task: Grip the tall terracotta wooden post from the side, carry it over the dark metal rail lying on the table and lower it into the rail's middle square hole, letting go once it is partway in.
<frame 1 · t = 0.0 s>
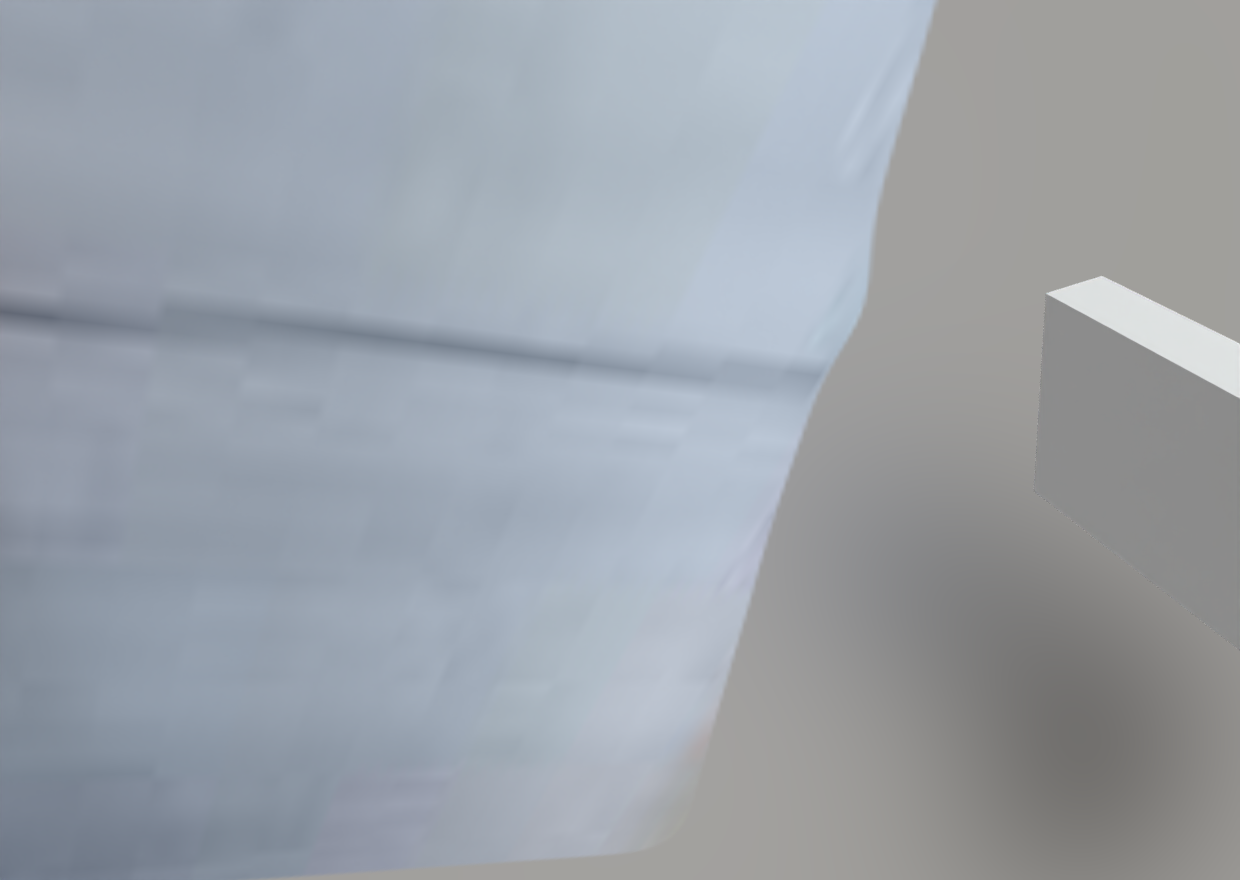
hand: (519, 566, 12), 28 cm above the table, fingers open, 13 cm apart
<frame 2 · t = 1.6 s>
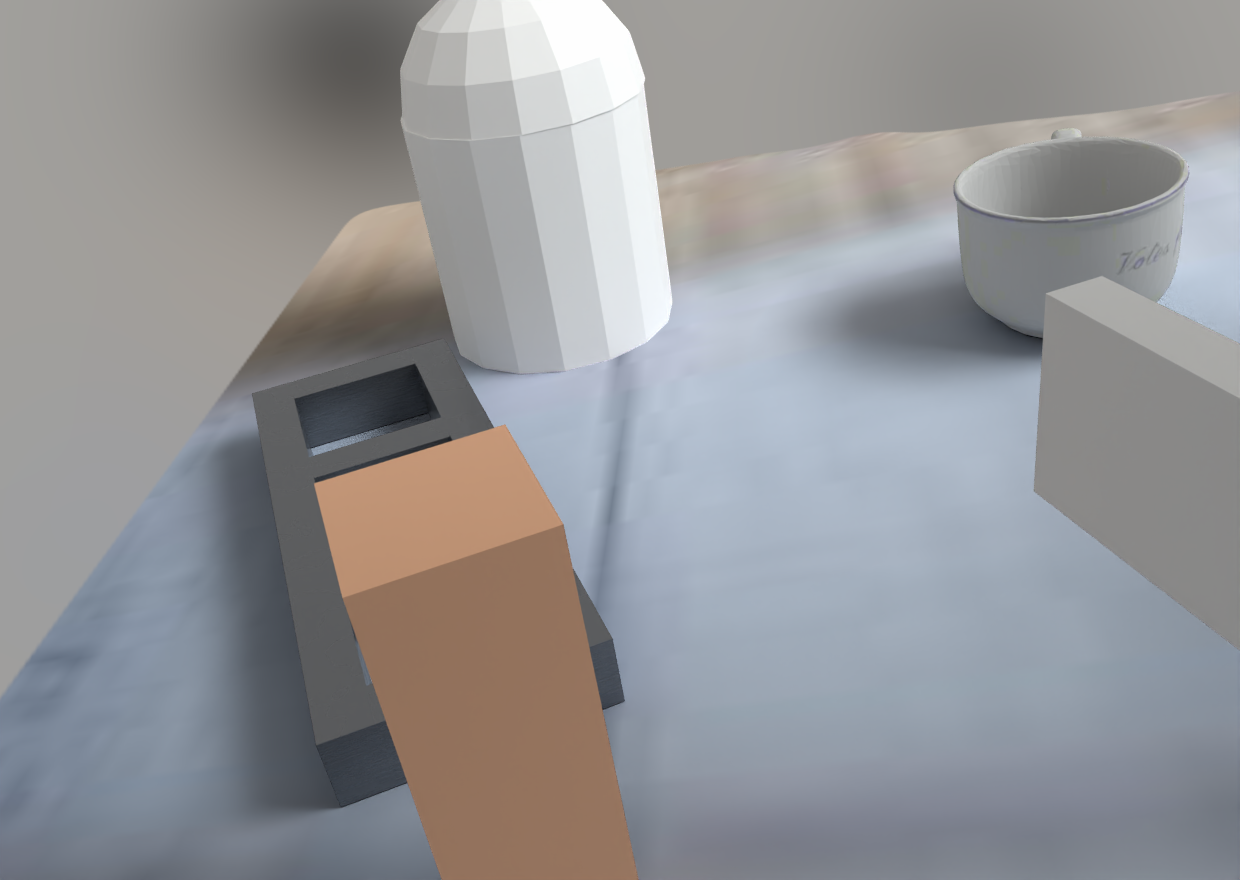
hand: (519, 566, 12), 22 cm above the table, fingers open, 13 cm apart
teacup: (1064, 303, 62), on the table
rail: (412, 545, 51), on the table
container: (564, 322, 69), on the table
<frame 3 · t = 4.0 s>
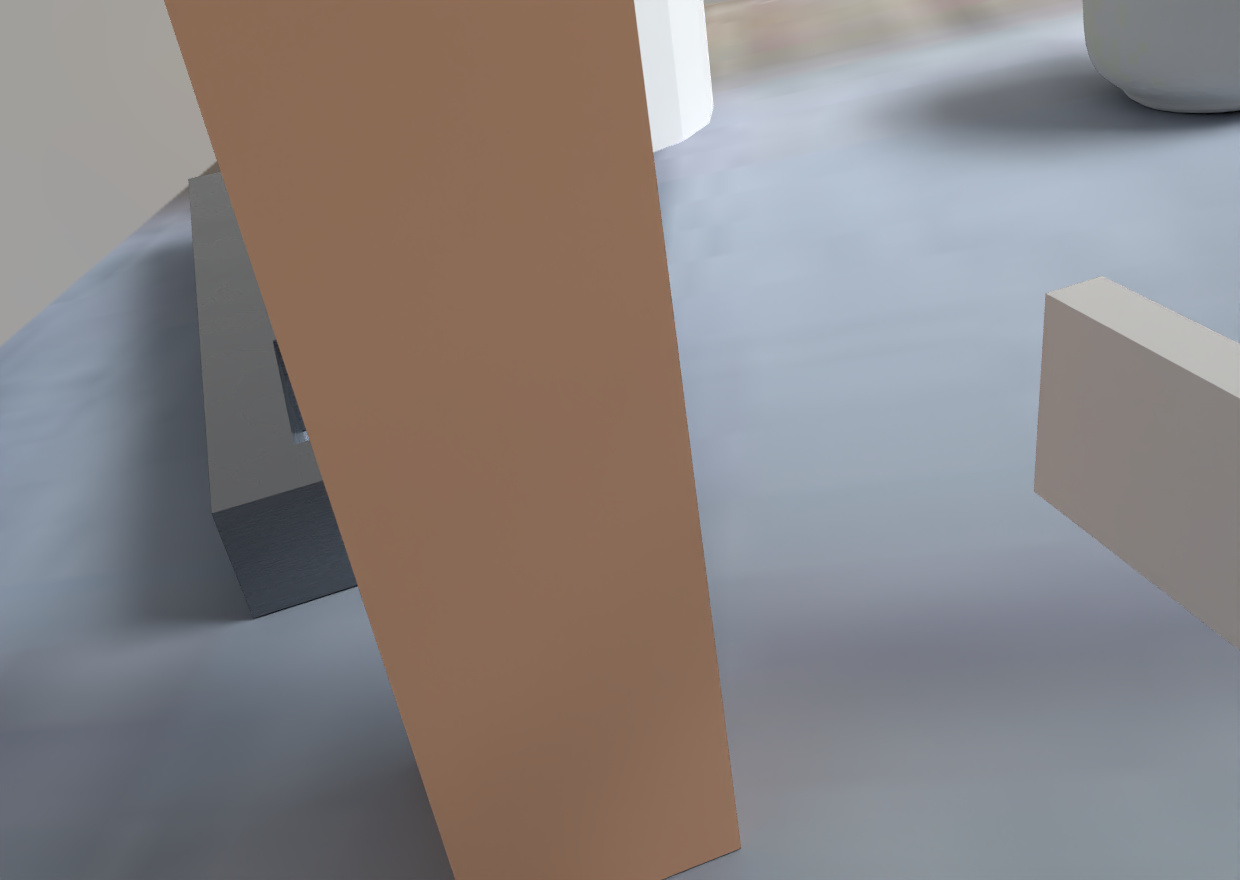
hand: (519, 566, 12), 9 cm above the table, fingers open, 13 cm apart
teacup: (1209, 86, 49), on the table
post: (572, 798, 21), on the table
rail: (380, 335, 39), on the table
container: (581, 131, 57), on the table
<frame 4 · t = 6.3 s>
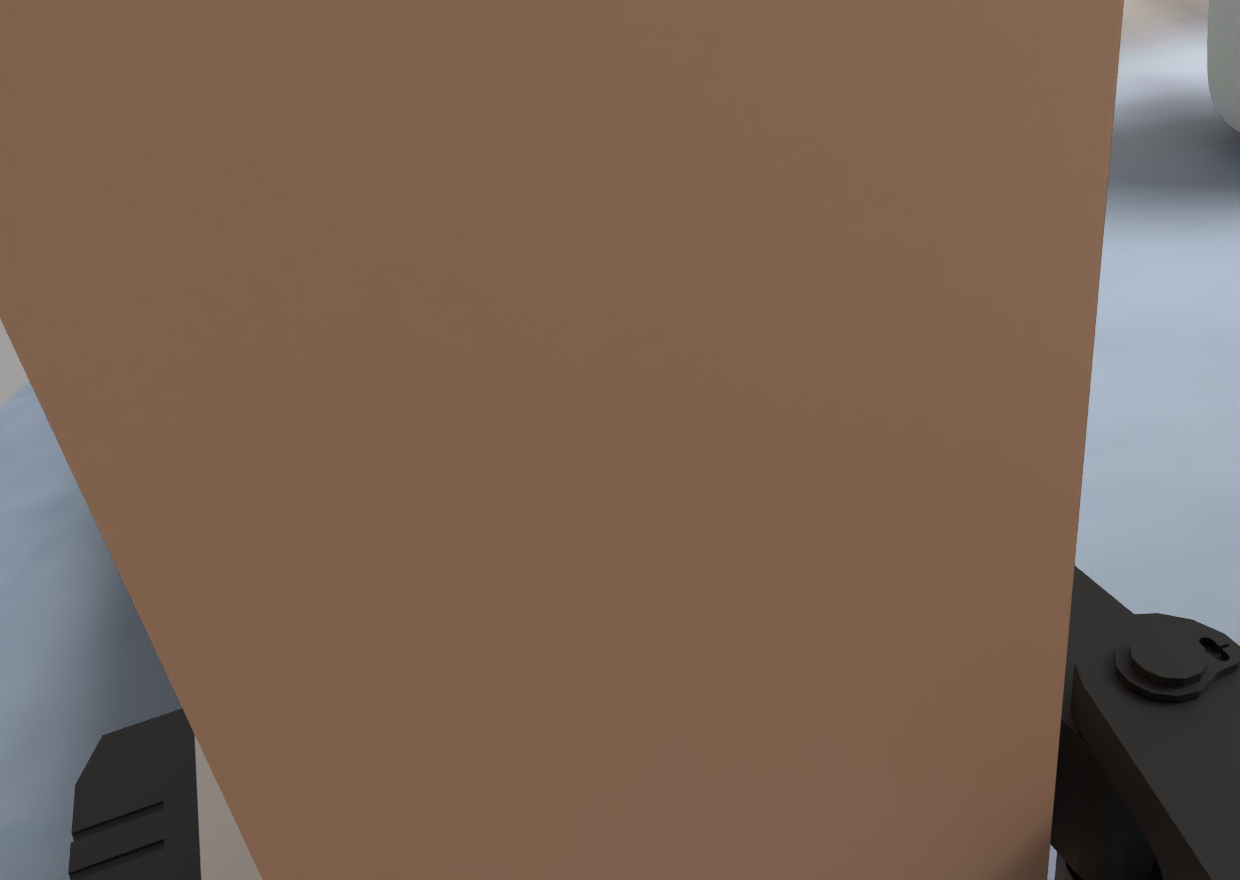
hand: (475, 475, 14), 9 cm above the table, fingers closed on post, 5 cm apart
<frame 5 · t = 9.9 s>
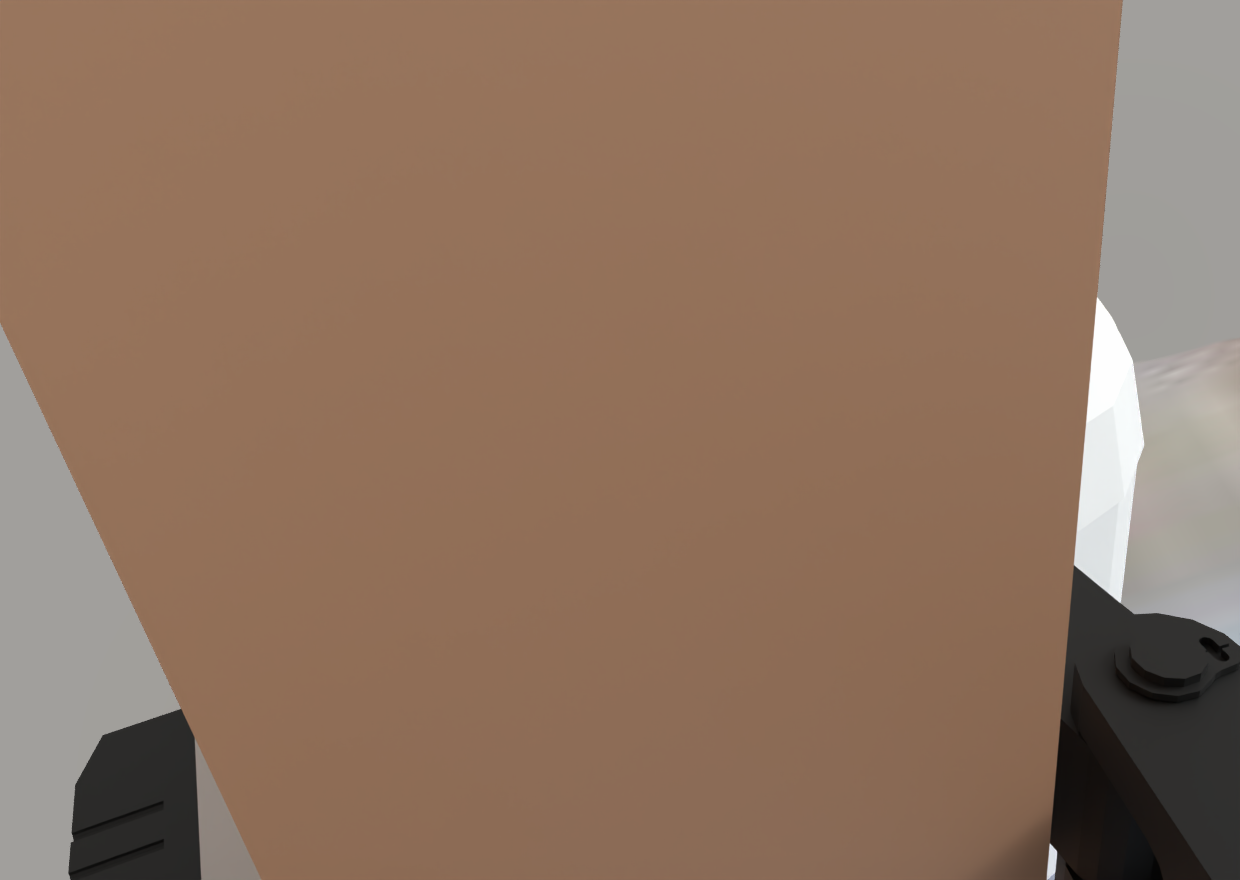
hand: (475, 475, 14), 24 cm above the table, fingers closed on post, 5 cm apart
container: (893, 759, 40), on the table
when the fingers open (10 cm above the table, at t = 13.7 s): post drops 1 cm, resting in rail.
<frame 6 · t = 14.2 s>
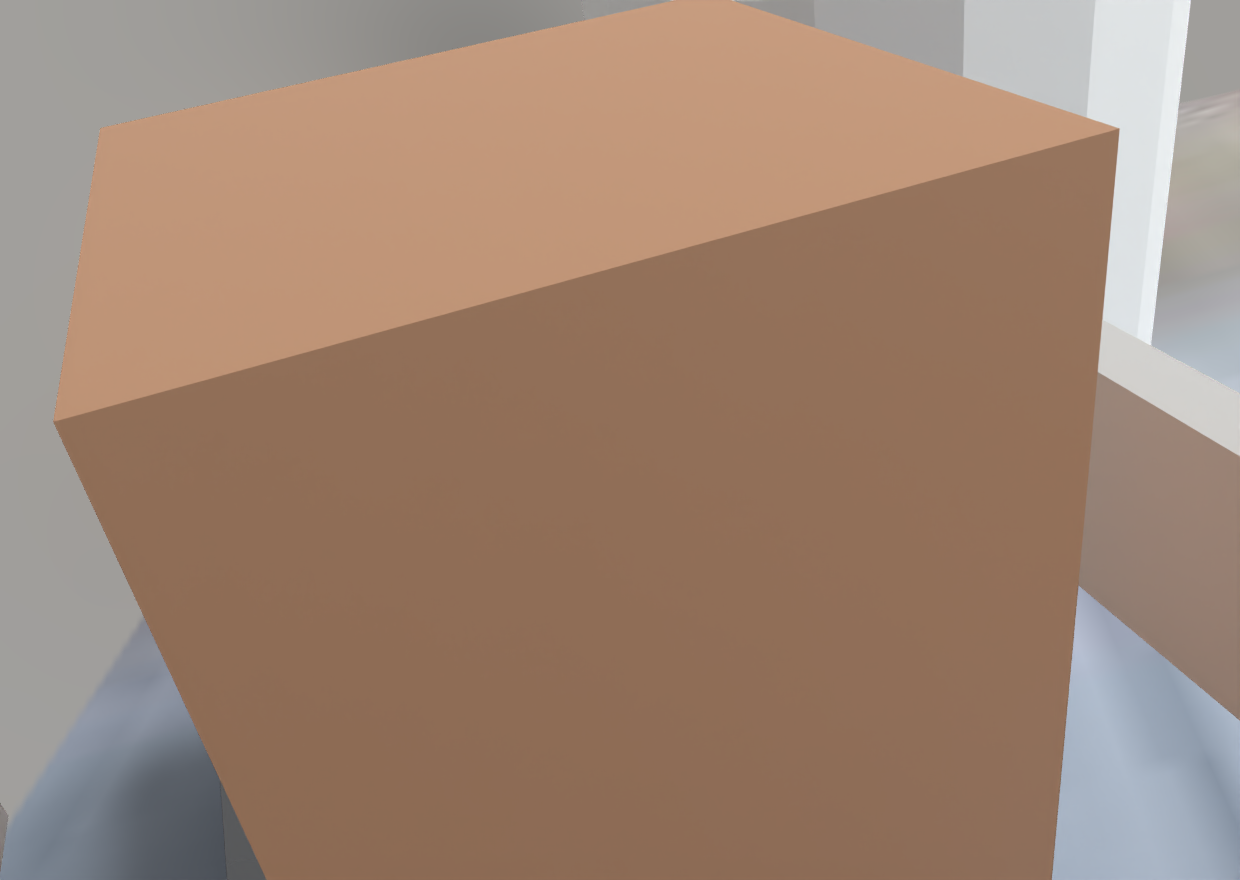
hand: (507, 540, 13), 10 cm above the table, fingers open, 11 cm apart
container: (885, 437, 33), on the table
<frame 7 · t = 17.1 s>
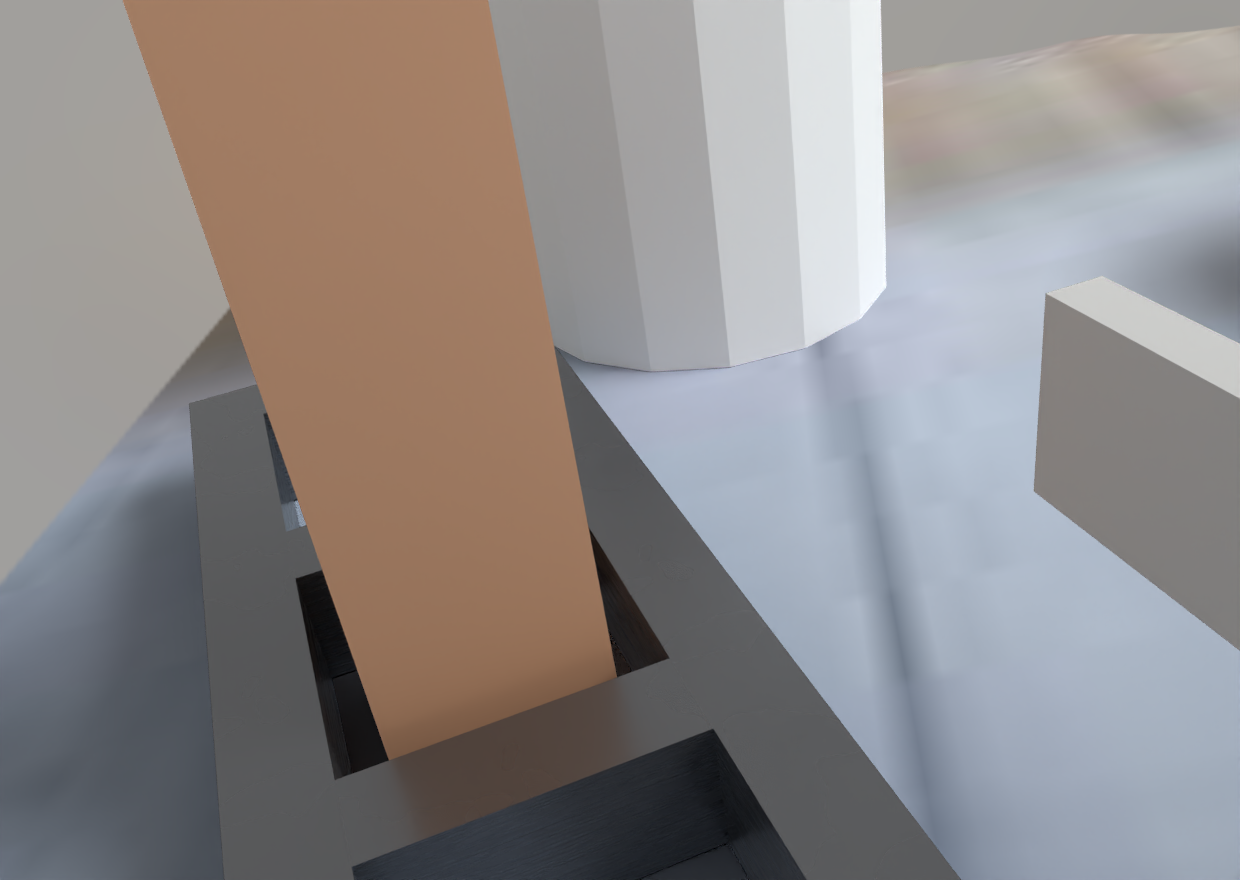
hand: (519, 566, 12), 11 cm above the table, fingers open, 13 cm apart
post: (497, 720, 25), resting in rail
rail: (495, 719, 25), on the table
container: (707, 289, 43), on the table
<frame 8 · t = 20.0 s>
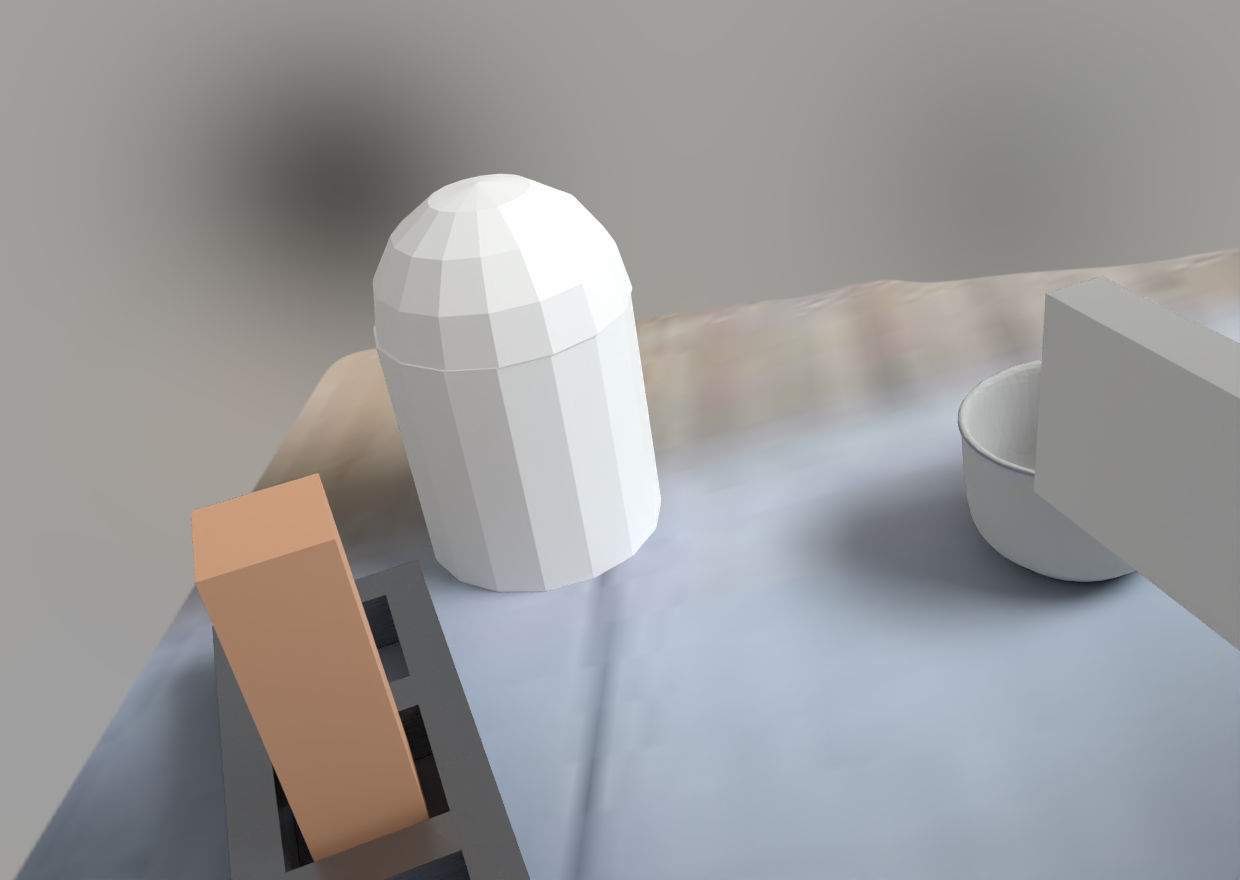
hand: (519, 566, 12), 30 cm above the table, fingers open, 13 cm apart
teacup: (1074, 527, 59), on the table
post: (376, 832, 48), resting in rail
rail: (375, 831, 48), on the table
container: (547, 520, 66), on the table
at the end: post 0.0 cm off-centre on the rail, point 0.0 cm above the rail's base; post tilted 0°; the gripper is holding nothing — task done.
